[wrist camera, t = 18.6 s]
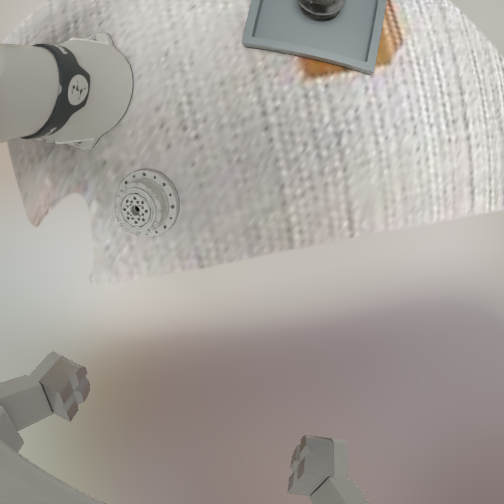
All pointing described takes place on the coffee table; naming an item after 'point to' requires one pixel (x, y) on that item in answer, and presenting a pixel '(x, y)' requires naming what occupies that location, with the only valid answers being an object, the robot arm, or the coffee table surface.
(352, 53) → the tray
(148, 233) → the mechanical component
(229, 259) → the coffee table surface
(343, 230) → the coffee table surface
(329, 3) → the dark stone stupa
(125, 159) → the coffee table surface
